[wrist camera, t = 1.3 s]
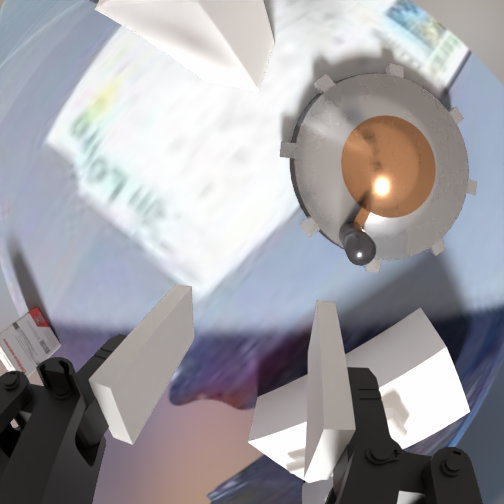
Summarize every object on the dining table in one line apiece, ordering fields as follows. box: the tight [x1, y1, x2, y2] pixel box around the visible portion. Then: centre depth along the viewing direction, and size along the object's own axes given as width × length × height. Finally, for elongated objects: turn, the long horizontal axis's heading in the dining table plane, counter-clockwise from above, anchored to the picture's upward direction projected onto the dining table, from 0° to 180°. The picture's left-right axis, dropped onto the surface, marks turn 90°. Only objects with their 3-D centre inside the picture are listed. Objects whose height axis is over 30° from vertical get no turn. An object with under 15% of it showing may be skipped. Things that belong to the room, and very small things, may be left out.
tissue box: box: [248, 308, 470, 483], centre depth 30 cm, size 14×25×11 cm, turn 130°
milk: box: [95, 0, 275, 92], centre depth 15 cm, size 6×6×22 cm
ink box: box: [0, 307, 61, 378], centre depth 37 cm, size 9×5×12 cm, turn 26°
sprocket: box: [280, 63, 477, 272], centre depth 22 cm, size 20×20×7 cm
